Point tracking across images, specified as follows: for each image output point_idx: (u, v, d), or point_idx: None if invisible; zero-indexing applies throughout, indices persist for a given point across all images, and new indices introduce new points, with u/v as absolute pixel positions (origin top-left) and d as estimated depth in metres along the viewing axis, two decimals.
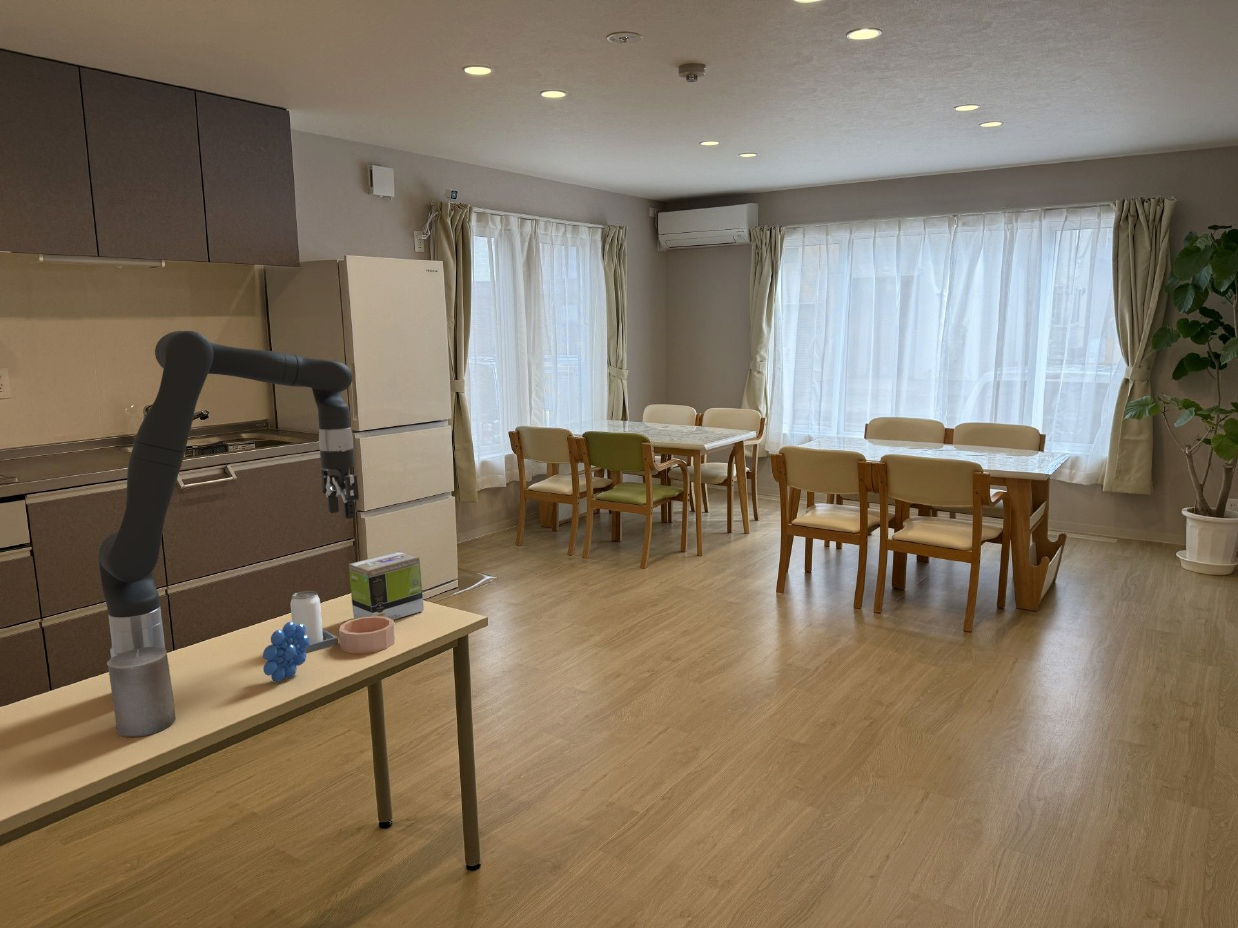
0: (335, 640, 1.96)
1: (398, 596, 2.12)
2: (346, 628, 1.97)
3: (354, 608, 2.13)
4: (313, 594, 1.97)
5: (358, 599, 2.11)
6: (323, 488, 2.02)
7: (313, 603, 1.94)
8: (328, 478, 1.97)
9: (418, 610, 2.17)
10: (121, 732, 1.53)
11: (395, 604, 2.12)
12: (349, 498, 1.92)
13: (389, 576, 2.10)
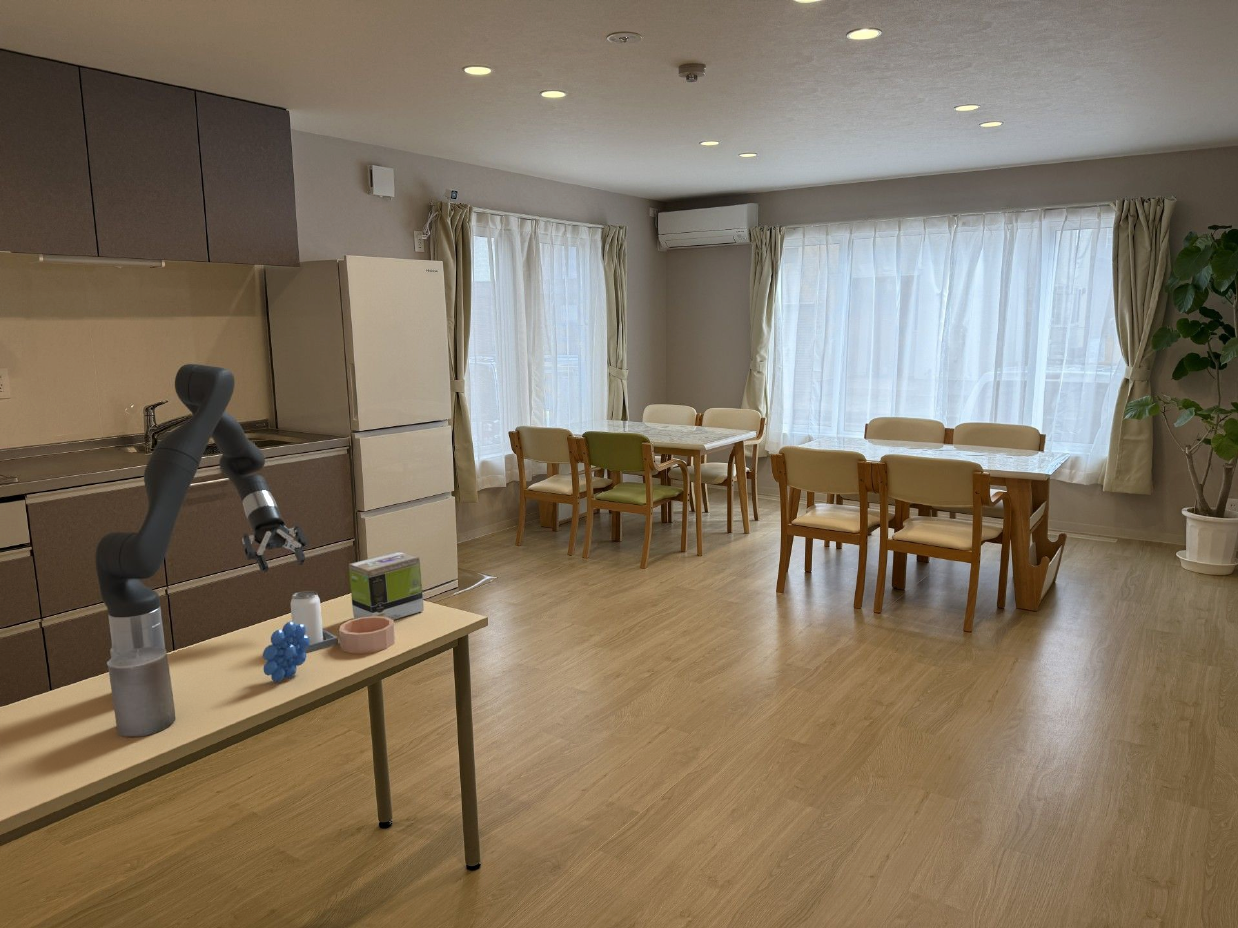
0: (335, 640, 1.96)
1: (398, 596, 2.12)
2: (346, 628, 1.97)
3: (354, 608, 2.13)
4: (313, 594, 1.97)
5: (358, 599, 2.11)
6: (250, 549, 2.00)
7: (313, 603, 1.94)
8: (268, 533, 2.05)
9: (418, 610, 2.17)
10: (121, 732, 1.53)
11: (395, 604, 2.12)
12: (306, 541, 2.09)
13: (389, 576, 2.10)
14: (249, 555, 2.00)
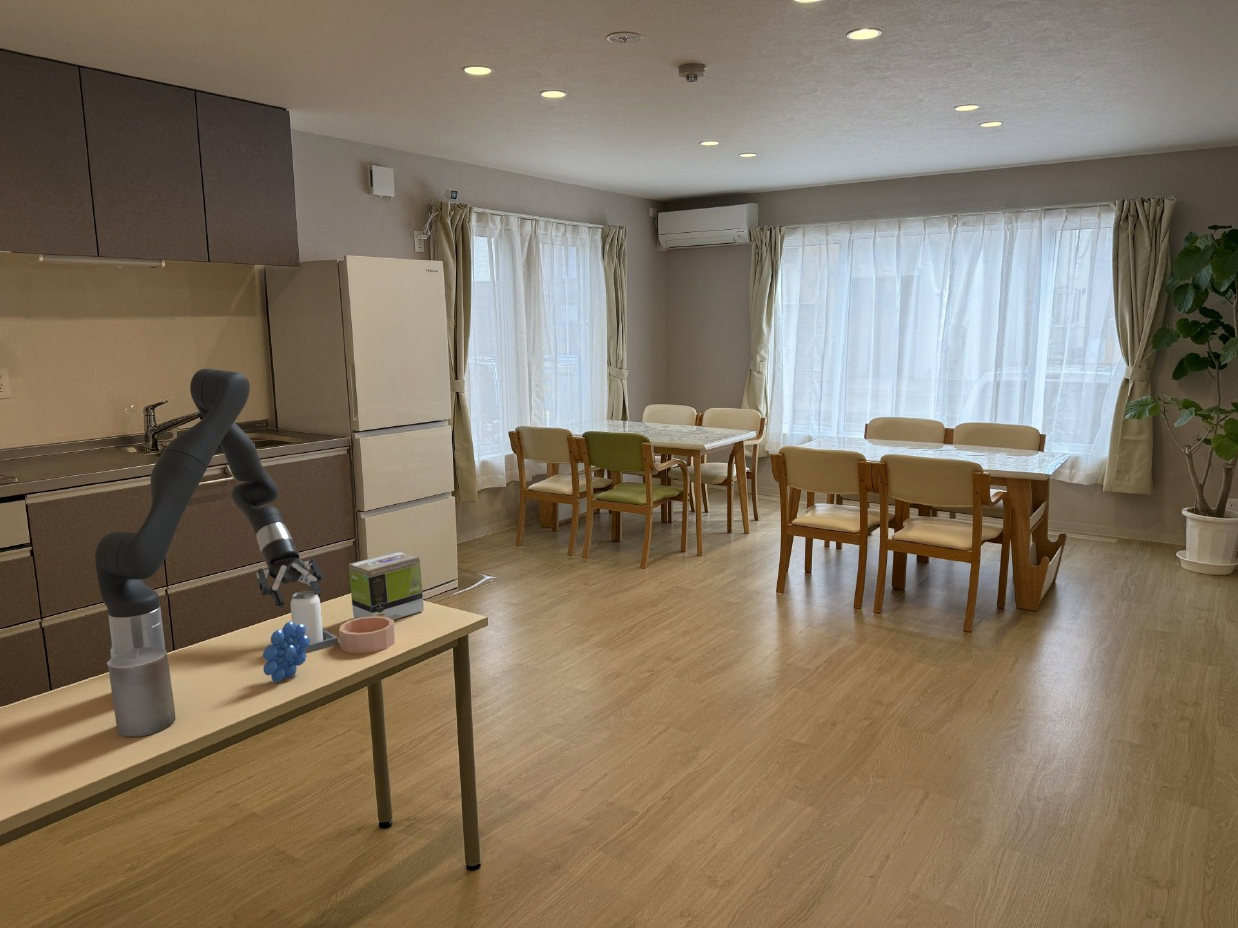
0: (335, 640, 1.96)
1: (398, 596, 2.12)
2: (346, 628, 1.97)
3: (354, 608, 2.13)
4: (313, 594, 1.97)
5: (358, 599, 2.11)
6: (265, 584, 1.95)
7: (313, 603, 1.94)
8: (283, 567, 1.99)
9: (418, 610, 2.17)
10: (121, 731, 1.53)
11: (395, 604, 2.12)
12: (322, 575, 2.04)
13: (389, 576, 2.10)
14: (264, 590, 1.95)
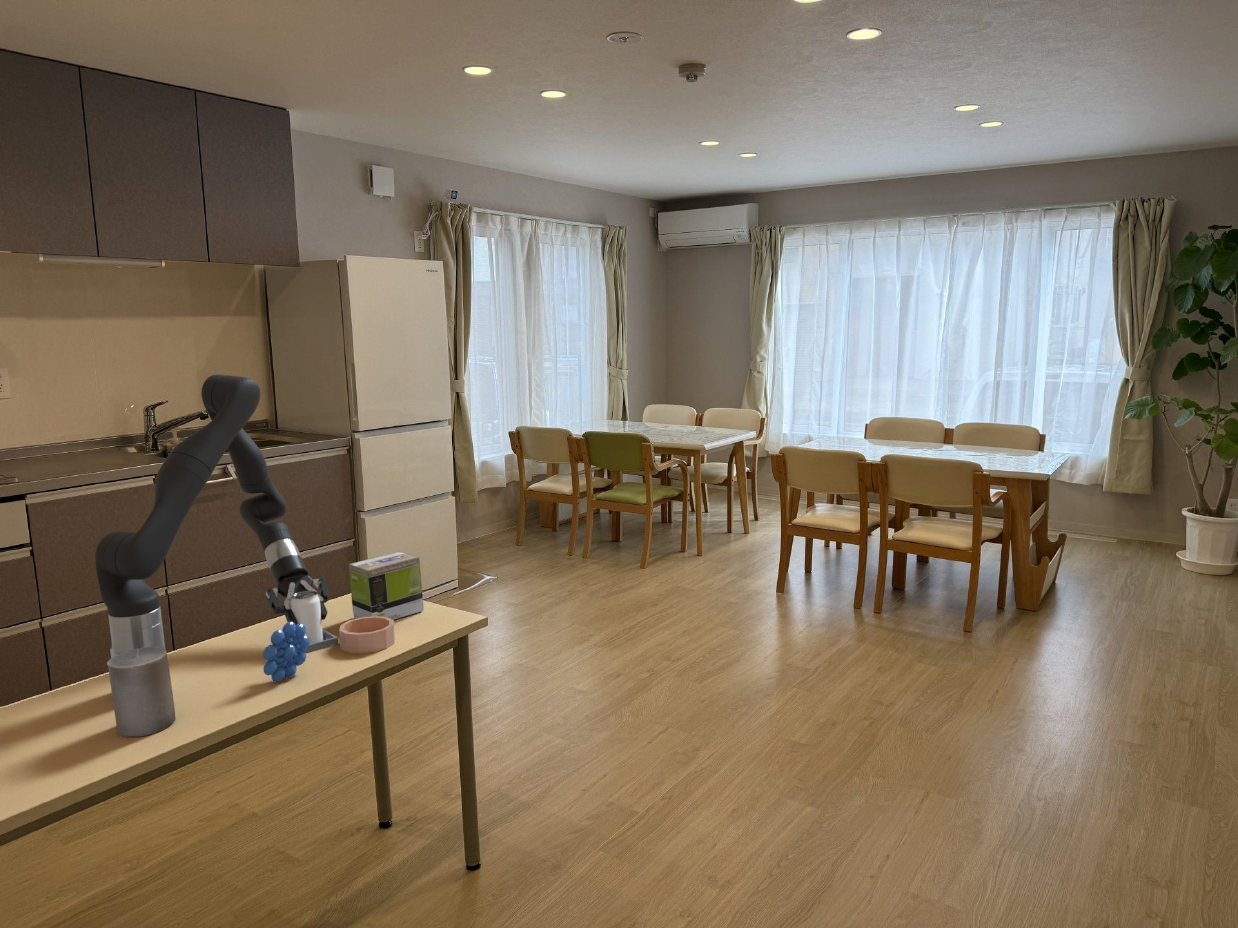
0: (335, 640, 1.96)
1: (398, 596, 2.12)
2: (346, 628, 1.97)
3: (354, 608, 2.13)
4: (313, 594, 1.97)
5: (358, 599, 2.11)
6: (277, 603, 1.93)
7: (313, 603, 1.94)
8: (292, 584, 1.97)
9: (418, 610, 2.17)
10: (121, 731, 1.53)
11: (395, 604, 2.12)
12: (328, 594, 2.01)
13: (389, 576, 2.10)
14: (278, 610, 1.93)
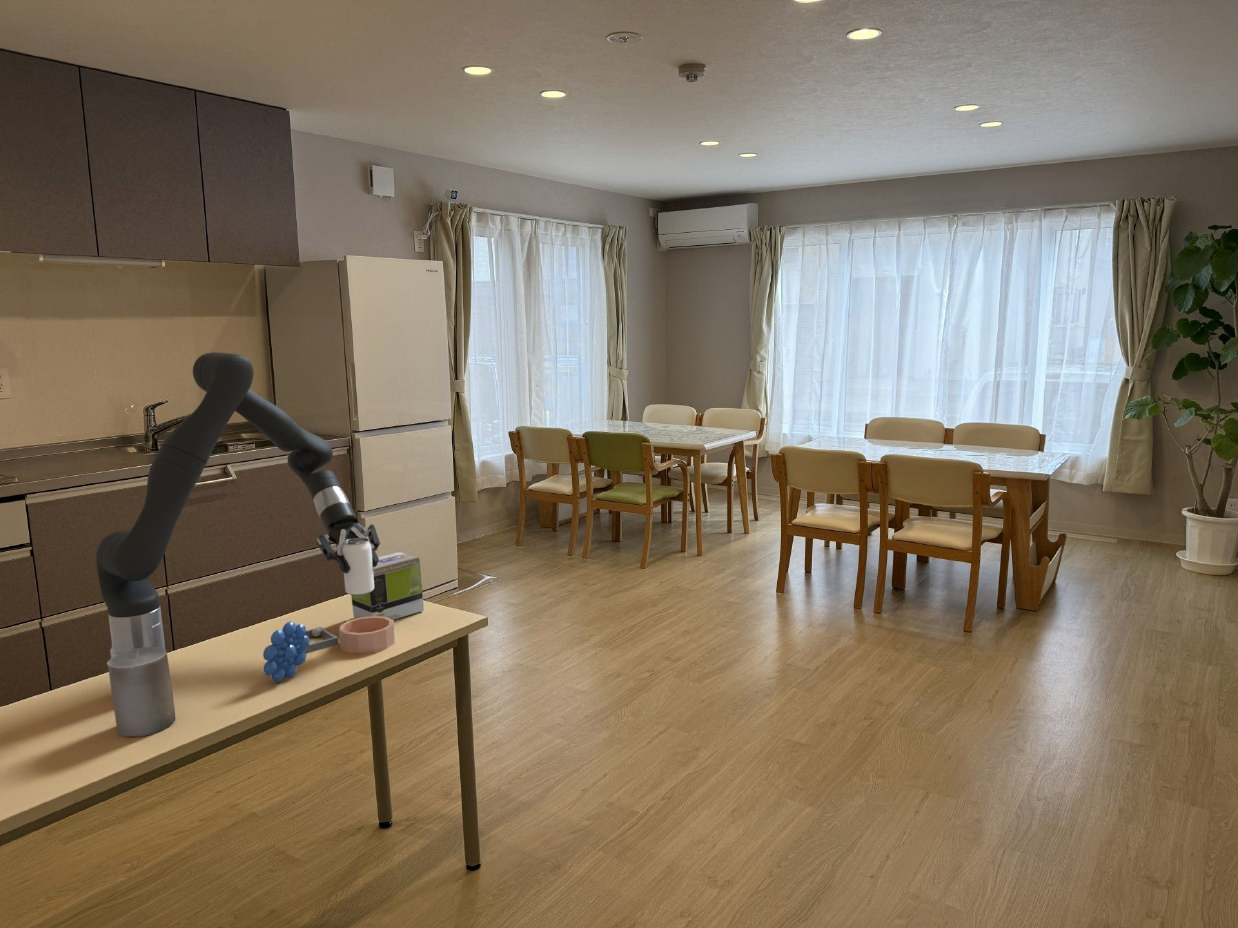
0: (335, 640, 1.96)
1: (398, 596, 2.12)
2: (346, 628, 1.97)
3: (354, 608, 2.13)
4: (364, 541, 1.95)
5: (358, 599, 2.11)
6: (330, 549, 1.91)
7: (366, 549, 1.92)
8: (343, 531, 1.95)
9: (418, 610, 2.17)
10: (121, 732, 1.53)
11: (395, 604, 2.12)
12: (379, 542, 1.99)
13: (389, 576, 2.10)
14: (330, 555, 1.91)
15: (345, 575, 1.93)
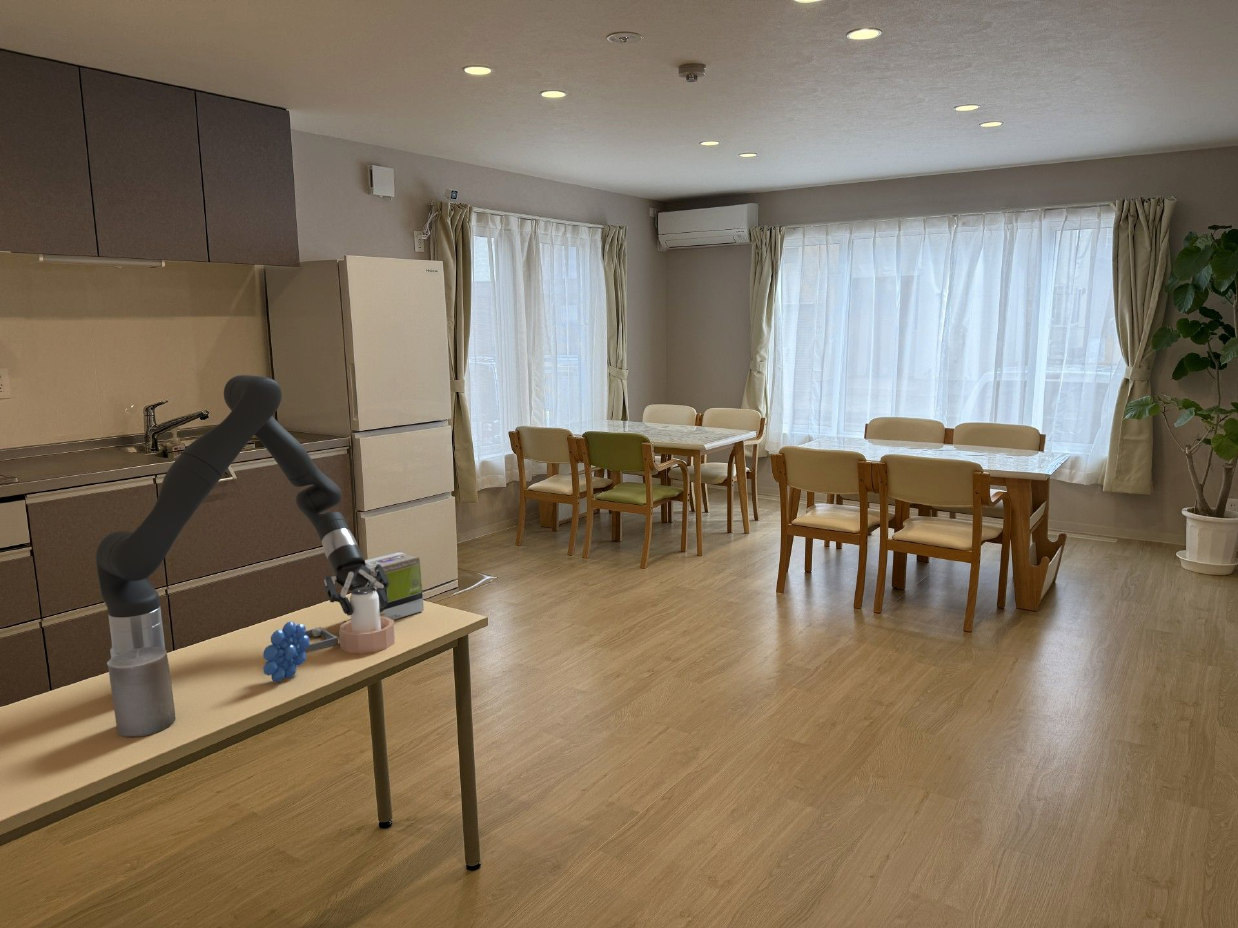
0: (335, 640, 1.96)
1: (398, 596, 2.12)
2: (346, 628, 1.97)
3: None
4: (372, 590, 1.96)
5: None
6: (333, 591, 1.92)
7: (373, 599, 1.93)
8: (350, 574, 1.96)
9: (418, 610, 2.17)
10: (121, 732, 1.53)
11: (395, 604, 2.12)
12: (388, 581, 2.01)
13: (389, 576, 2.10)
14: (333, 598, 1.91)
15: (352, 625, 1.94)
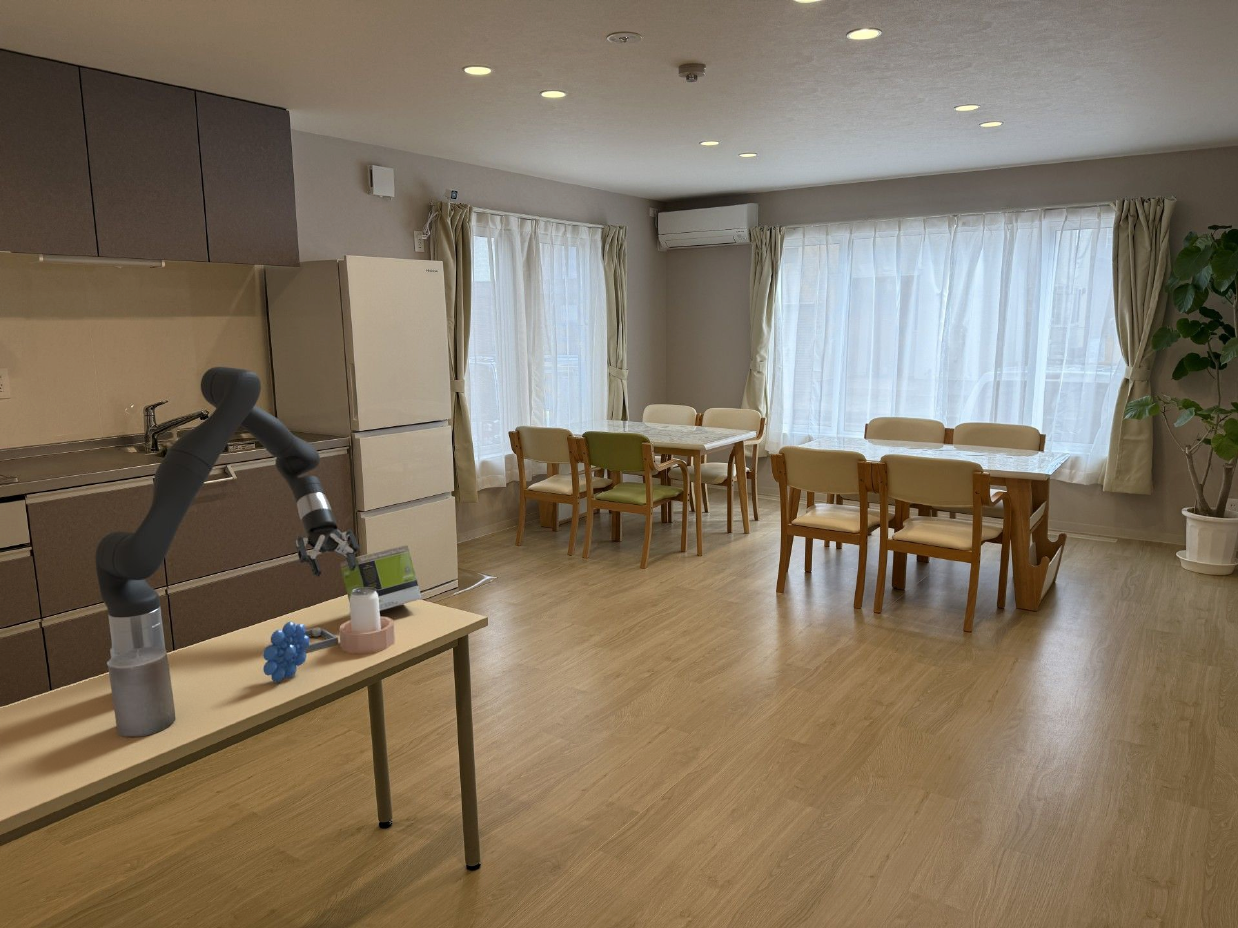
0: (335, 640, 1.96)
1: (392, 582, 2.13)
2: (346, 628, 1.97)
3: None
4: (371, 590, 1.96)
5: None
6: (304, 552, 2.00)
7: (373, 599, 1.93)
8: (322, 536, 2.04)
9: (415, 597, 2.17)
10: (121, 732, 1.53)
11: (391, 591, 2.13)
12: (358, 547, 2.09)
13: (380, 563, 2.13)
14: (303, 558, 1.99)
15: (352, 625, 1.94)
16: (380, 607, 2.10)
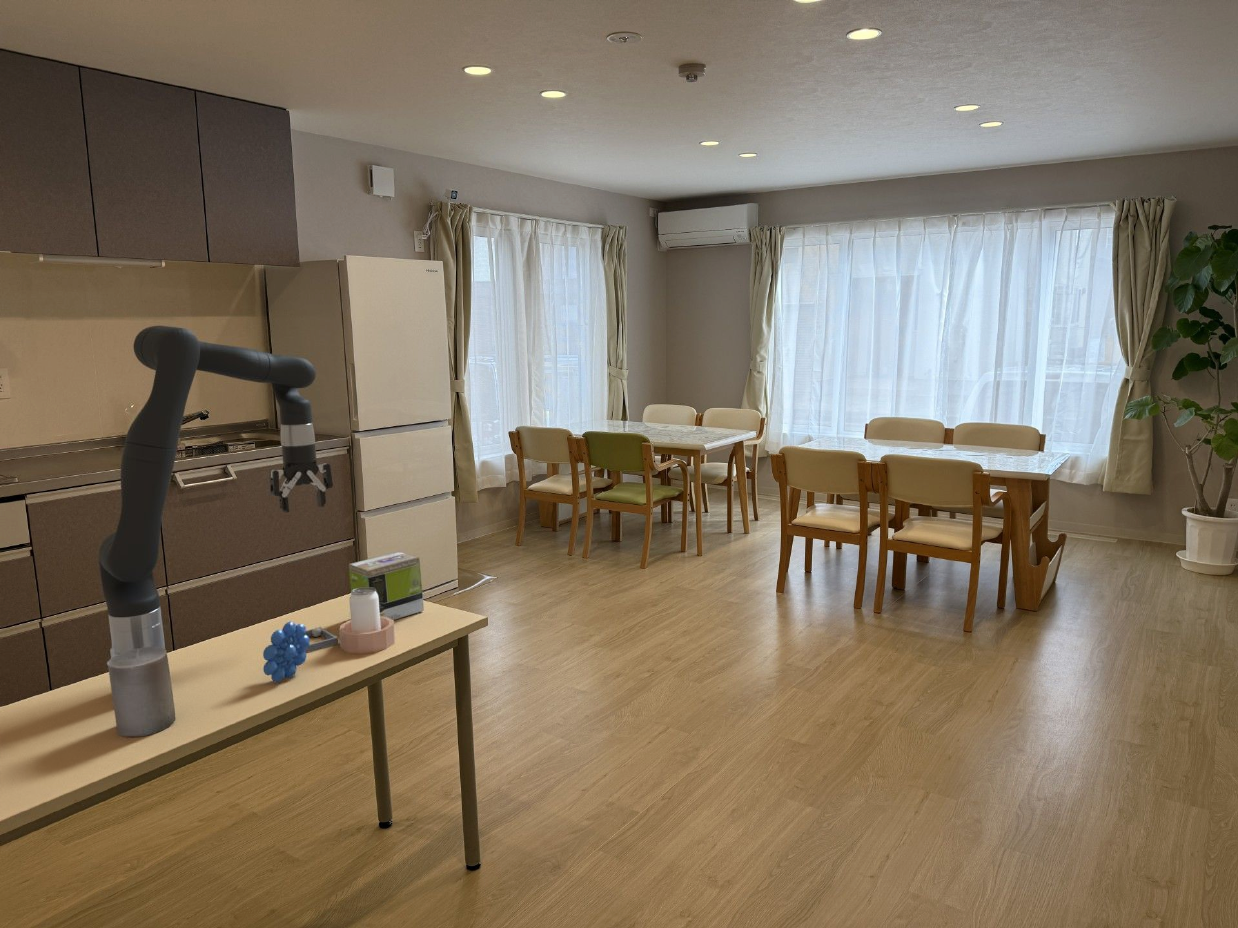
0: (335, 640, 1.96)
1: (398, 596, 2.12)
2: (346, 628, 1.97)
3: None
4: (371, 590, 1.96)
5: None
6: (276, 489, 1.96)
7: (373, 599, 1.93)
8: (298, 474, 1.99)
9: (418, 610, 2.17)
10: (121, 731, 1.53)
11: (395, 604, 2.12)
12: (332, 484, 2.06)
13: (389, 576, 2.10)
14: (274, 494, 1.97)
15: (352, 625, 1.94)
16: None
